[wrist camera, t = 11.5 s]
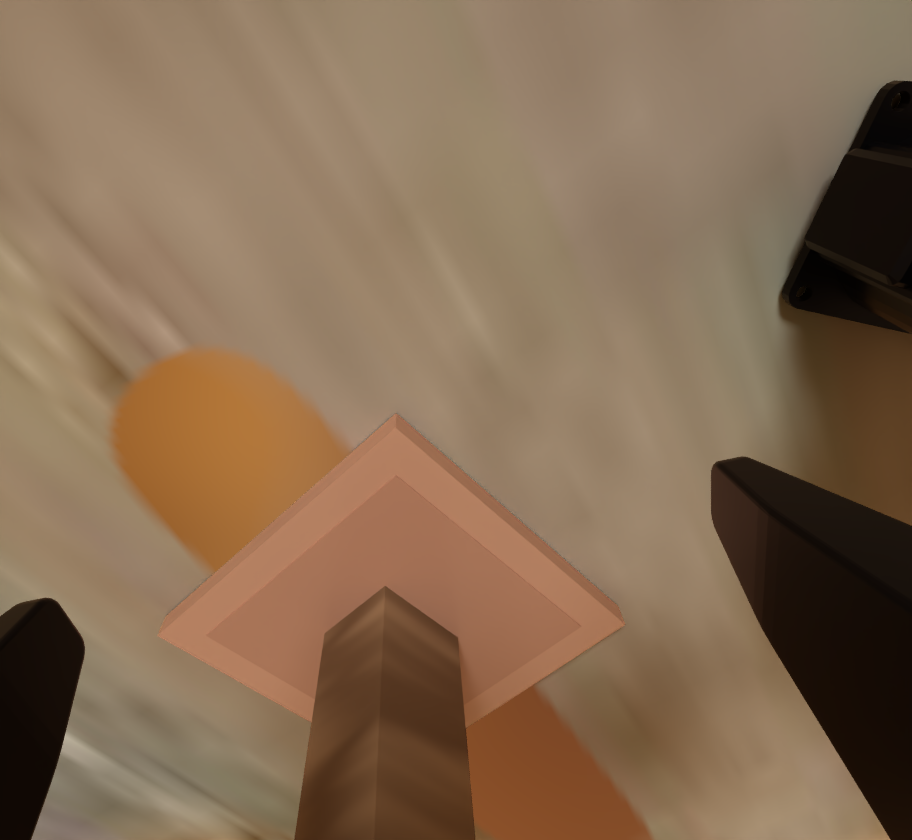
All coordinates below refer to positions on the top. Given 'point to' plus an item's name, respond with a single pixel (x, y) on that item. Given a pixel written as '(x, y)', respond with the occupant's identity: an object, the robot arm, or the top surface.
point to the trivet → (394, 580)
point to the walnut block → (387, 731)
